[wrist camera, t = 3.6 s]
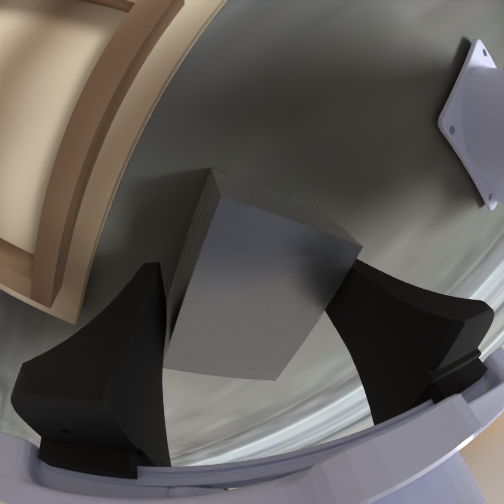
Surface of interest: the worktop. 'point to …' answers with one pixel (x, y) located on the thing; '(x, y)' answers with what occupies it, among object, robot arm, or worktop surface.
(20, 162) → the tray
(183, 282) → the block
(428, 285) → the worktop surface
